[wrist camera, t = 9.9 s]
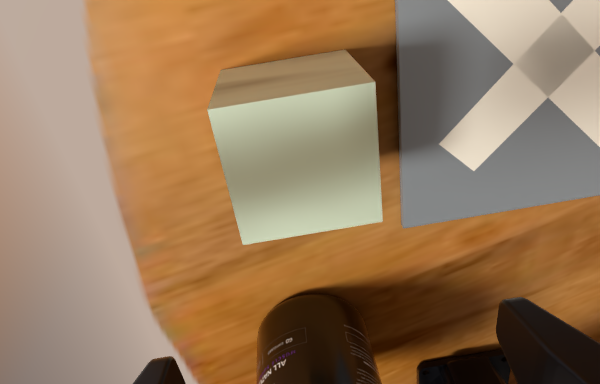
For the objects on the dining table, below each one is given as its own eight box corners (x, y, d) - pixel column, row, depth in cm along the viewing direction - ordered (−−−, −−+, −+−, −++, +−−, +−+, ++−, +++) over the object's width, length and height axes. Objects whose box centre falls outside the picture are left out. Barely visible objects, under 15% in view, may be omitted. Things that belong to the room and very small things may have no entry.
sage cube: (354, 161, 21) (382, 221, 16) (246, 179, 21) (243, 245, 16) (344, 49, 18) (375, 81, 13) (220, 69, 18) (207, 109, 13)
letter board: (651, 181, 23) (657, 185, 23) (401, 224, 23) (403, 228, 23) (772, -202, 15) (785, -206, 15) (391, -139, 15) (394, -142, 15)
